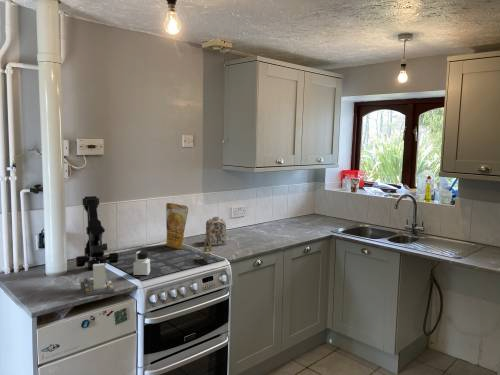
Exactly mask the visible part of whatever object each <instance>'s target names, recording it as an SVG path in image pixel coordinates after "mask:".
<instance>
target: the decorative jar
mask: <svg viewBox="0 0 500 375" xmlns="http://www.w3.org/2000/svg"><path fill="white" fill-rule="evenodd" d="M209 237H210V246H224V245H227V225H226V222H225V220H224V218H223V219H222V218H220V217H219V216H213V217H212V218H209V219H208V220H207V221H206V222H205V239H206V244H208V245H209Z"/></svg>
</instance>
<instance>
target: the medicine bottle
mask: <svg viewBox="0 0 500 375" xmlns="http://www.w3.org/2000/svg"><path fill="white" fill-rule="evenodd" d="M132 264H133V276H134V275H148V276H149V274H150V272H151V259H150V258H149V253H148V251H146V250H139V251H136V252H135V261H133V263H132Z"/></svg>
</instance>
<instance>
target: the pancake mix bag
mask: <svg viewBox="0 0 500 375" xmlns="http://www.w3.org/2000/svg"><path fill="white" fill-rule="evenodd" d="M165 205H166V206H165V209H166V210H165V211H166V212H165V213H166V216H165V217H166V221H165V224H166V226H165V227H166V243H165V244H167V245H166V246H167V247H169V248H173V249H176V250H183V249H184V248H183V240H184V234H185V228H186V223H187V219H188V217H187V216H188V213H189V206H187V205H183V204H177V203H171V202H167V203H165Z"/></svg>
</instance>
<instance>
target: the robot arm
mask: <svg viewBox="0 0 500 375" xmlns="http://www.w3.org/2000/svg"><path fill="white" fill-rule="evenodd" d="M81 201H82V206H83V210H85V211H86V214H87V226H86V229H85V230H86V235H87V236H88V237H87V238H88V239H87V242H86V244H85V247H84V255H78V256H76V257H75V266H76V268H80V267H81V268H83V267H84V269H87V270H89V271H93V264H101V263H105V266H106V265H107V261H108V262H109V264H117V263H118V261H119V253H118V252H109V253H108V254H109V255H108V256H107V255H105V251H108V243H107V242H106V243H103V234H104V233H105V232H106V231H105V228H104V227H103V225H102V221H101V220H100V219H99V216H98V207H99V205H100V198H99V197H97V196H96V195H92V196H90V195H89V196H84V197H83V198H82V200H81ZM104 255H105V256H104ZM86 263H87V266H86Z"/></svg>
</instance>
